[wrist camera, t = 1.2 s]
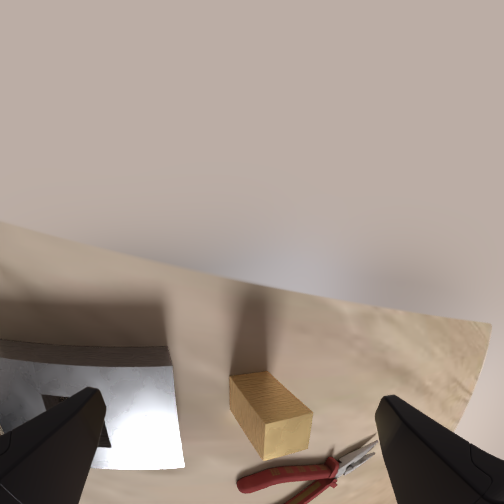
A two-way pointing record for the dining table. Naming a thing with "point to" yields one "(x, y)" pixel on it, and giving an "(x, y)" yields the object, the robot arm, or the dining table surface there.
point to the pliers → (307, 475)
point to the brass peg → (269, 415)
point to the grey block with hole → (112, 389)
